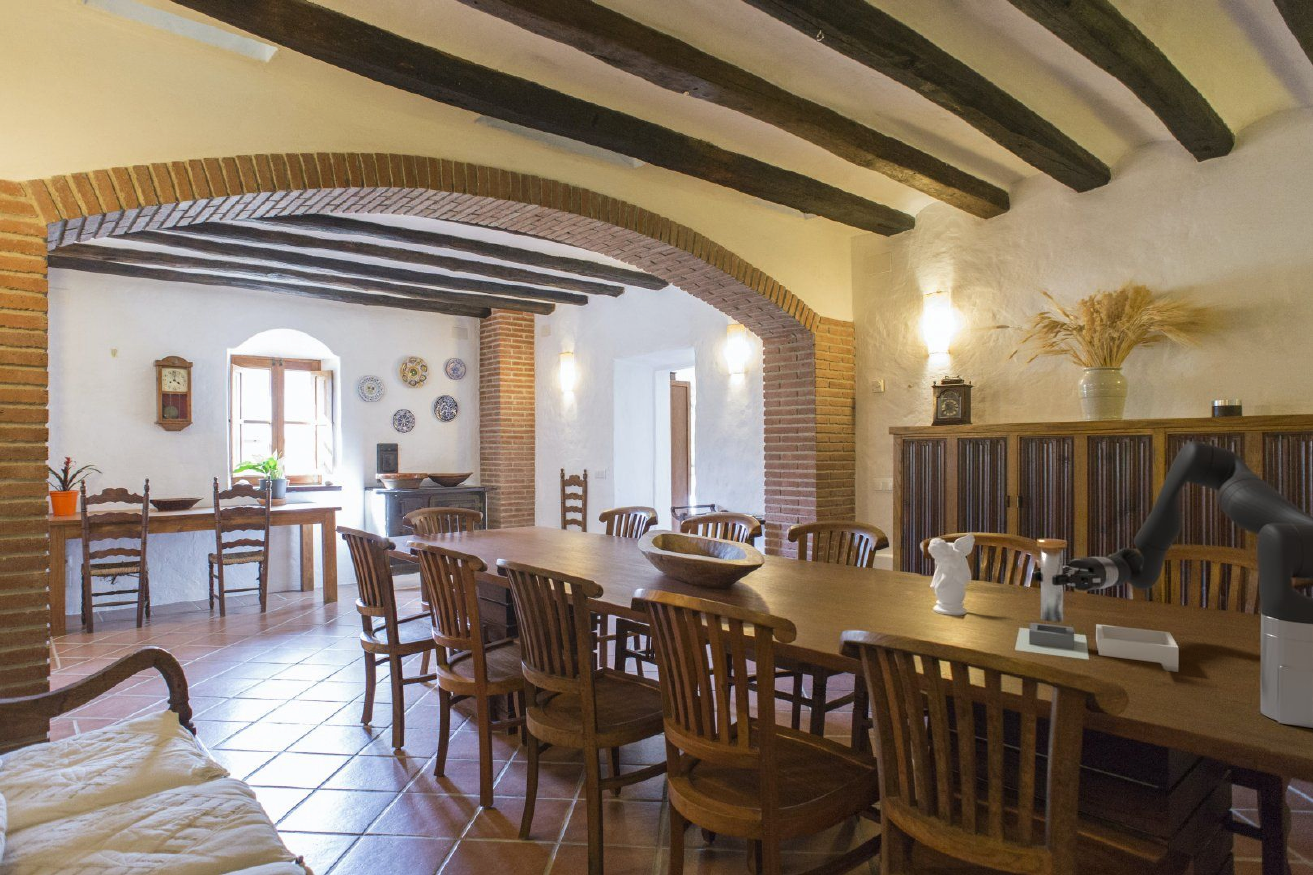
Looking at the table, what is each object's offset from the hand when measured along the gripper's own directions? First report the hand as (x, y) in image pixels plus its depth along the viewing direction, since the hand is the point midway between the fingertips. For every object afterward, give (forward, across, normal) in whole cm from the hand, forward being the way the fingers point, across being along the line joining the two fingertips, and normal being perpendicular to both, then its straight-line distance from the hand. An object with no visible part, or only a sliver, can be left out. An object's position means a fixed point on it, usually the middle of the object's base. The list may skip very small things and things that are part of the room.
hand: (1044, 578), depth 167 cm
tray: (-13, +12, +16) cm, 24 cm away
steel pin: (-3, 0, +10) cm, 10 cm away
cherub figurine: (-12, -37, +16) cm, 43 cm away
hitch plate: (-3, 0, +16) cm, 16 cm away
